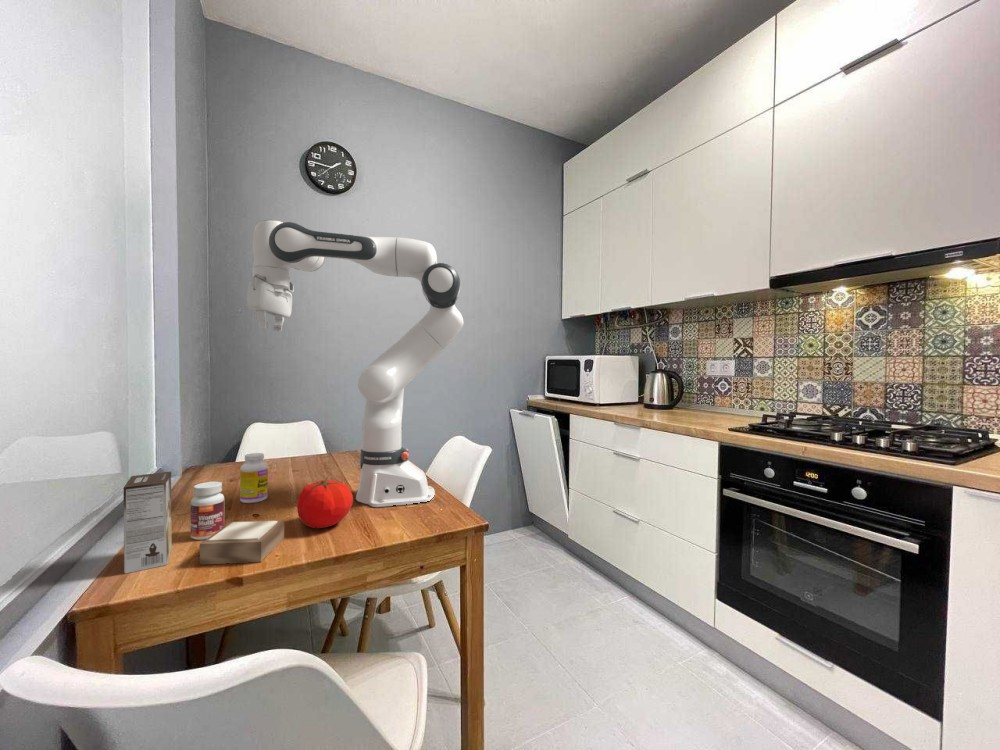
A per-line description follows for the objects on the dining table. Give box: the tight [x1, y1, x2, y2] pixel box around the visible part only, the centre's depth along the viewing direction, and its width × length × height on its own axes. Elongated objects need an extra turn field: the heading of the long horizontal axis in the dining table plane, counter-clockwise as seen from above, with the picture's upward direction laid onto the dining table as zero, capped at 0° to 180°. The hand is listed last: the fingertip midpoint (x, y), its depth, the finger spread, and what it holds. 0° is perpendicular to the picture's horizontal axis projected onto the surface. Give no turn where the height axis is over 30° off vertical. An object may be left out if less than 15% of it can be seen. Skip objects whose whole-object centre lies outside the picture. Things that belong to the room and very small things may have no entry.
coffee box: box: [123, 471, 173, 574], centre depth 79 cm, size 9×6×16 cm
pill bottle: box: [190, 481, 225, 541], centre depth 91 cm, size 6×6×11 cm
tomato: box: [296, 476, 354, 529], centre depth 98 cm, size 13×12×11 cm
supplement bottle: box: [239, 452, 269, 504], centre depth 115 cm, size 7×7×13 cm
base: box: [199, 520, 285, 566], centre depth 84 cm, size 11×11×4 cm
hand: (270, 329), depth 115 cm, fingers open, 8 cm apart
